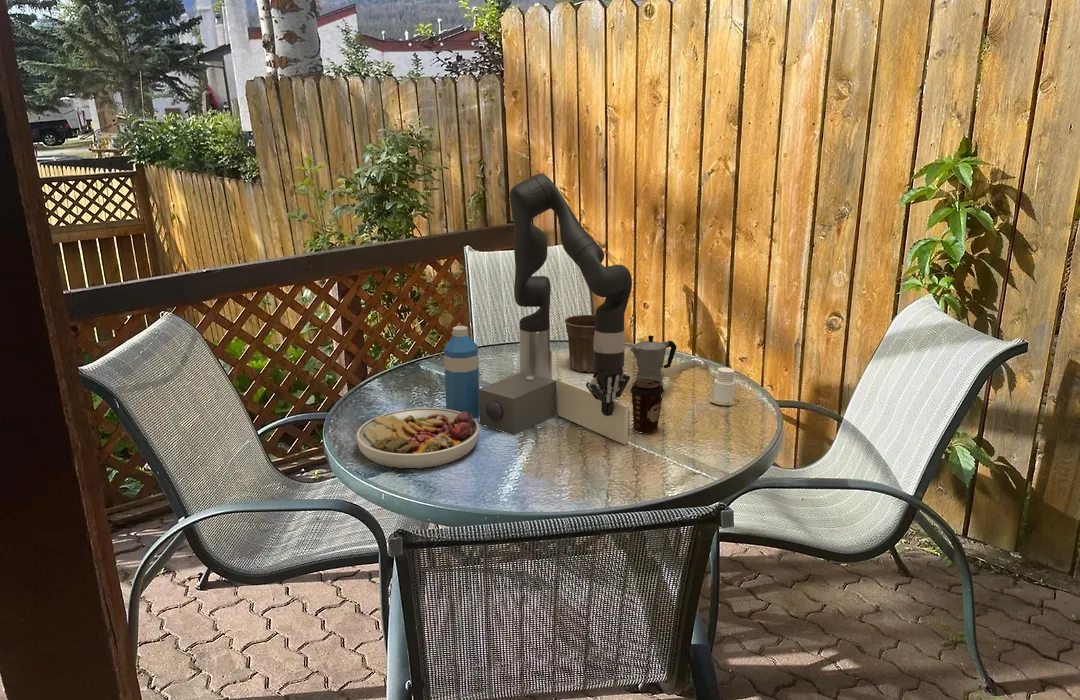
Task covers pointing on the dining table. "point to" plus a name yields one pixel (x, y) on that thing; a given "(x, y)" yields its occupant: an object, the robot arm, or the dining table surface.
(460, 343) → the water bottle
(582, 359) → the plant pot
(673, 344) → the coffeepot
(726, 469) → the dining table surface
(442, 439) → the bowl
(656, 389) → the coffee cup
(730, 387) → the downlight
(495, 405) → the grey button box
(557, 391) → the case door
